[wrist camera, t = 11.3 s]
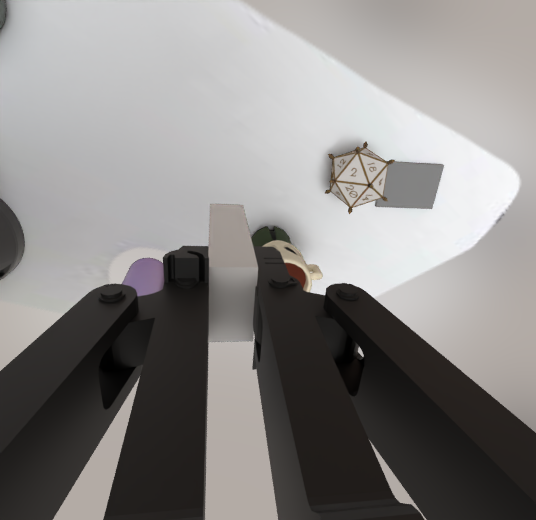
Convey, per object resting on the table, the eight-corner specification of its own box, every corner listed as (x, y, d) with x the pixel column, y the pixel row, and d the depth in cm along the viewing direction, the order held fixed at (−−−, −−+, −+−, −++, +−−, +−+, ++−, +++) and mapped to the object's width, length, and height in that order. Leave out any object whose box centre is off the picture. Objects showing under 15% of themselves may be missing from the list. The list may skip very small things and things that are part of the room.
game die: (378, 189, 53) (411, 210, 44) (324, 207, 54) (345, 231, 45) (369, 128, 49) (402, 137, 40) (310, 148, 50) (330, 161, 41)
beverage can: (130, 253, 53) (100, 309, 39) (171, 258, 54) (156, 314, 40) (128, 288, 55) (99, 353, 42) (168, 292, 56) (153, 356, 43)
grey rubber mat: (375, 205, 54) (376, 206, 54) (384, 161, 52) (385, 161, 51) (430, 207, 56) (432, 208, 55) (441, 164, 53) (444, 165, 52)
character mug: (306, 221, 54) (330, 257, 42) (303, 264, 57) (325, 308, 45) (233, 222, 53) (238, 260, 41) (234, 266, 56) (238, 312, 44)
